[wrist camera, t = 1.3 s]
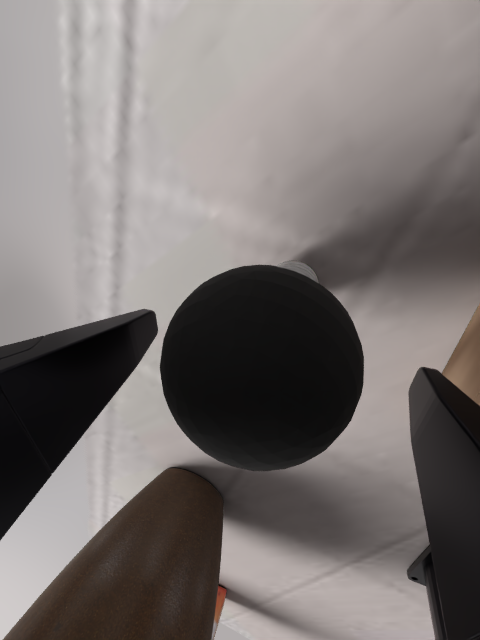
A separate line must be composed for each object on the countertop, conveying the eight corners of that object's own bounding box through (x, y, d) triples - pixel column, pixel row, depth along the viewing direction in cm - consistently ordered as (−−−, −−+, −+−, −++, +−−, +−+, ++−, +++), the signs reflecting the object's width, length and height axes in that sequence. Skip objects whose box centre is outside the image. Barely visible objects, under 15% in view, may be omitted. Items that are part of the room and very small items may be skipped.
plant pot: (231, 544, 34) (157, 789, 21) (127, 483, 35) (-4, 677, 22) (281, 498, 25) (206, 871, 12) (140, 420, 26) (-65, 679, 13)
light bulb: (247, 210, 13) (86, 297, 5) (375, 229, 12) (429, 388, 4) (238, 313, 16) (130, 468, 8) (339, 338, 15) (327, 552, 7)
